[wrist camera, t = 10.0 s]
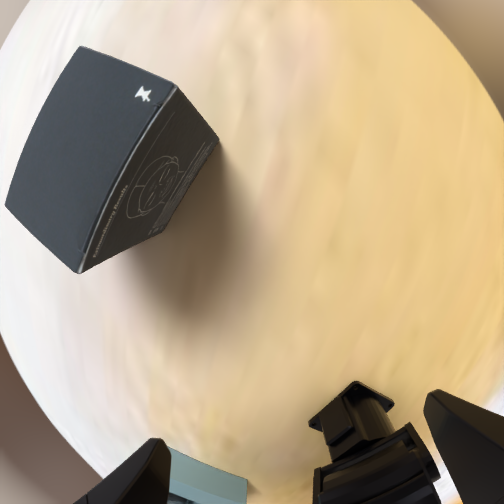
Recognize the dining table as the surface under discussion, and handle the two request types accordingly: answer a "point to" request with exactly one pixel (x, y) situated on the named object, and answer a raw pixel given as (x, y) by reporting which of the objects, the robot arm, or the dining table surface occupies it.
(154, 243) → the dining table surface
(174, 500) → the peg
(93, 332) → the dining table surface
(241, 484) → the hole block
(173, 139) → the box
